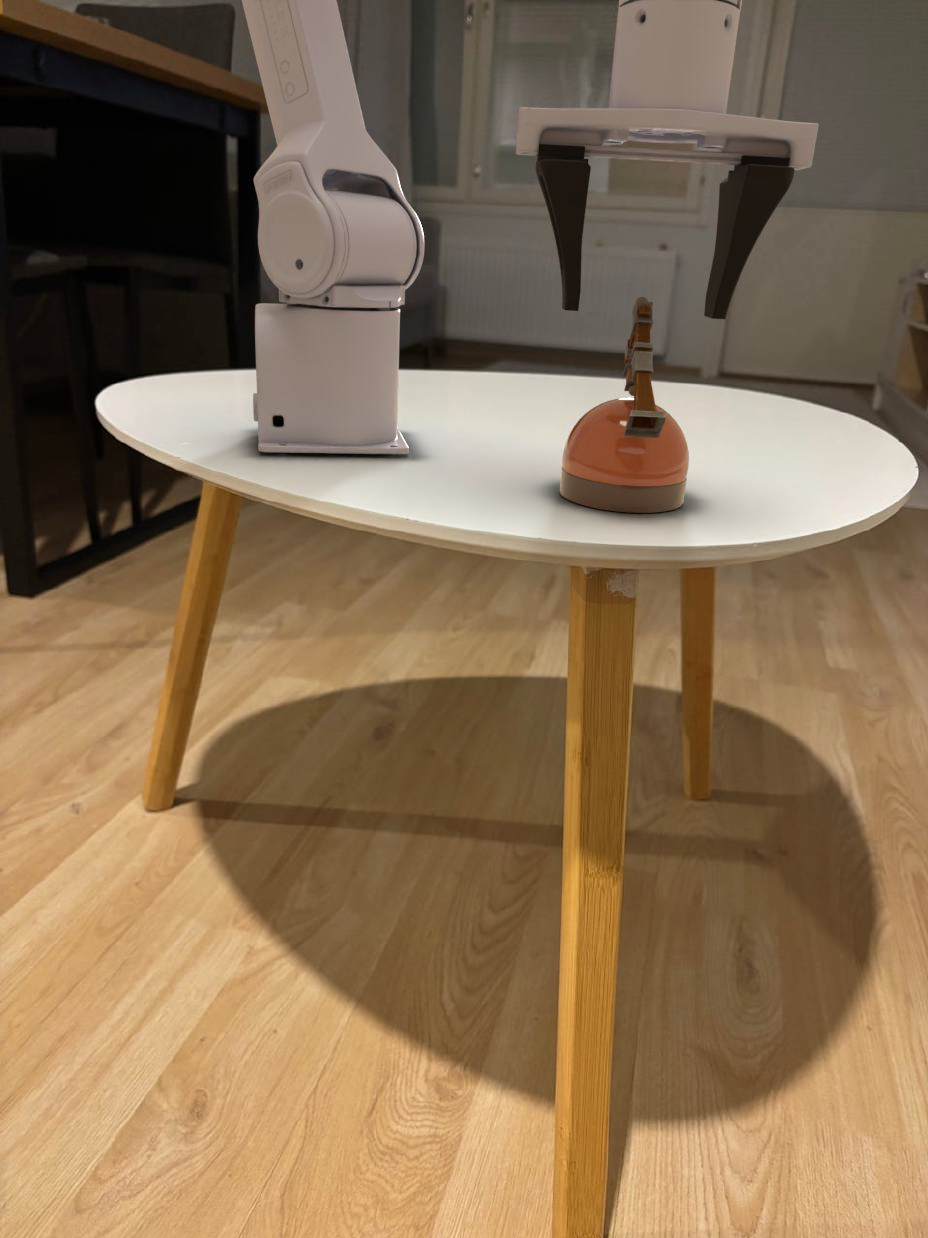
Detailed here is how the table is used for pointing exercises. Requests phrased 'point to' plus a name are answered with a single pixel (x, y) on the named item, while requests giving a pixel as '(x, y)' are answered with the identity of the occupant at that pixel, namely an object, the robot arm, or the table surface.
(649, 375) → the wooden post with brackets
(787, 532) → the table surface
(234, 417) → the table surface
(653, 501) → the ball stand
